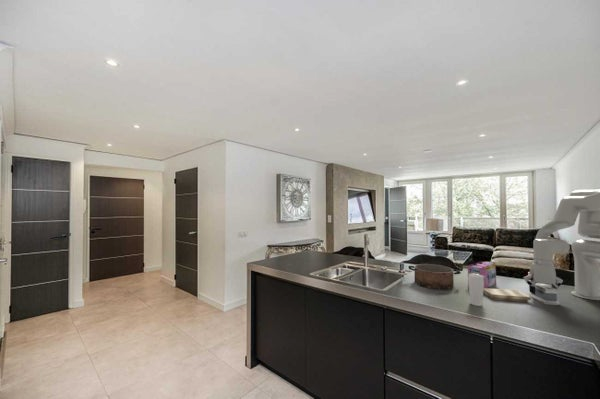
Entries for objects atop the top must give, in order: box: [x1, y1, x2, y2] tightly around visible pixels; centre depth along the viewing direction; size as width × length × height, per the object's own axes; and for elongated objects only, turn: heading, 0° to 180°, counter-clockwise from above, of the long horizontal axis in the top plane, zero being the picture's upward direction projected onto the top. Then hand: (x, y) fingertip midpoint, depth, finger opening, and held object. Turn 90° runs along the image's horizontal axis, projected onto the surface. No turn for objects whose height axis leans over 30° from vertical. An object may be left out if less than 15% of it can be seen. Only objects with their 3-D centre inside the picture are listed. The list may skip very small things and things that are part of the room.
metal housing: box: [528, 283, 560, 306], centre depth 137 cm, size 6×12×8 cm, turn 169°
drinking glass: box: [467, 273, 484, 307], centre depth 132 cm, size 7×7×15 cm
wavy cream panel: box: [483, 287, 532, 303], centre depth 141 cm, size 18×11×3 cm, turn 77°
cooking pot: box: [407, 263, 461, 291], centre depth 165 cm, size 30×22×11 cm
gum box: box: [467, 260, 497, 288], centre depth 163 cm, size 24×8×14 cm, turn 124°
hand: (543, 293), depth 137 cm, fingers open, 9 cm apart
